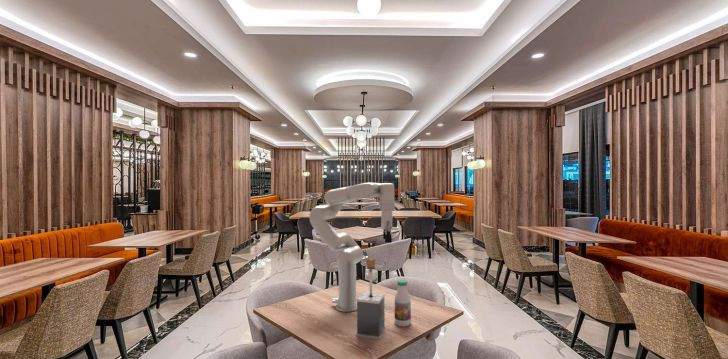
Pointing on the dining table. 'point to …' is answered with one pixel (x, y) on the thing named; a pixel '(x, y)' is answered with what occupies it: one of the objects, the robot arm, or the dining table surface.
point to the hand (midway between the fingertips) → (387, 240)
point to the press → (370, 315)
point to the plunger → (370, 265)
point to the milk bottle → (402, 305)
